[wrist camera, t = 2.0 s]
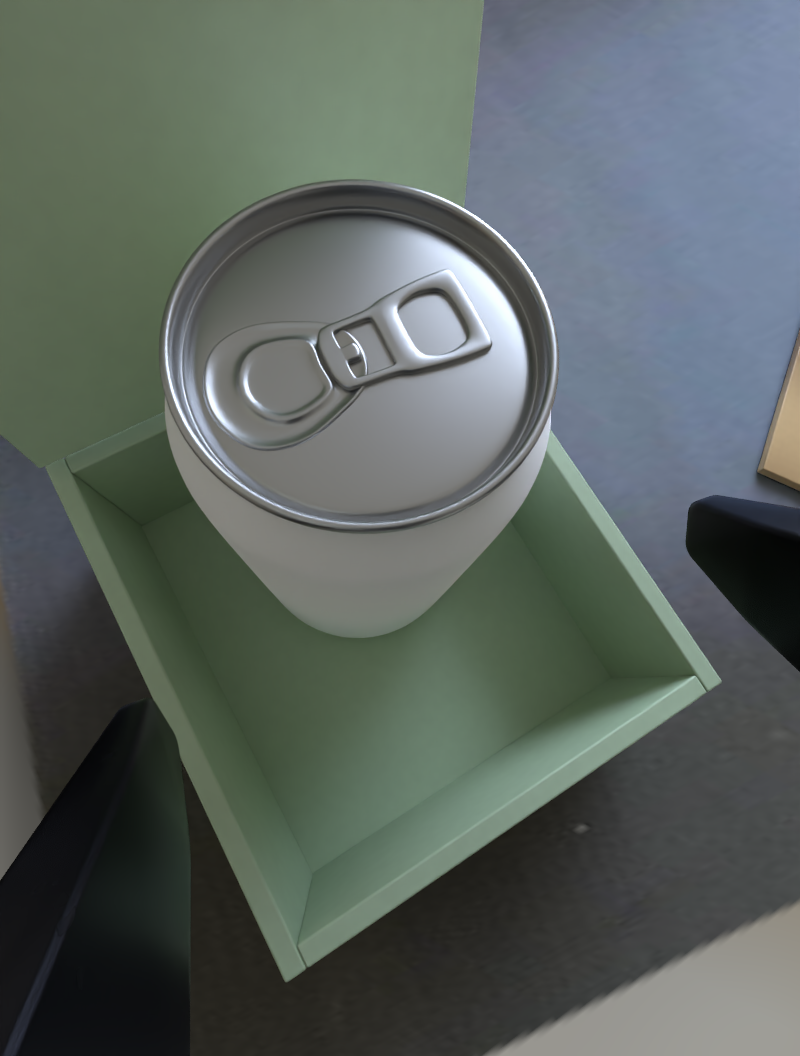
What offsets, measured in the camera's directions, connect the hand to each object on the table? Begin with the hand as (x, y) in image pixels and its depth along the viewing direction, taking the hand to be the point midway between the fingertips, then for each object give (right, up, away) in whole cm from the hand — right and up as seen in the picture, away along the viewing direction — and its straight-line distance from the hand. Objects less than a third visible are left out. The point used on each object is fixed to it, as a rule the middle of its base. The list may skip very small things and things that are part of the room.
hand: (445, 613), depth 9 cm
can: (-2, +1, +11) cm, 11 cm away
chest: (-2, -1, +11) cm, 11 cm away
